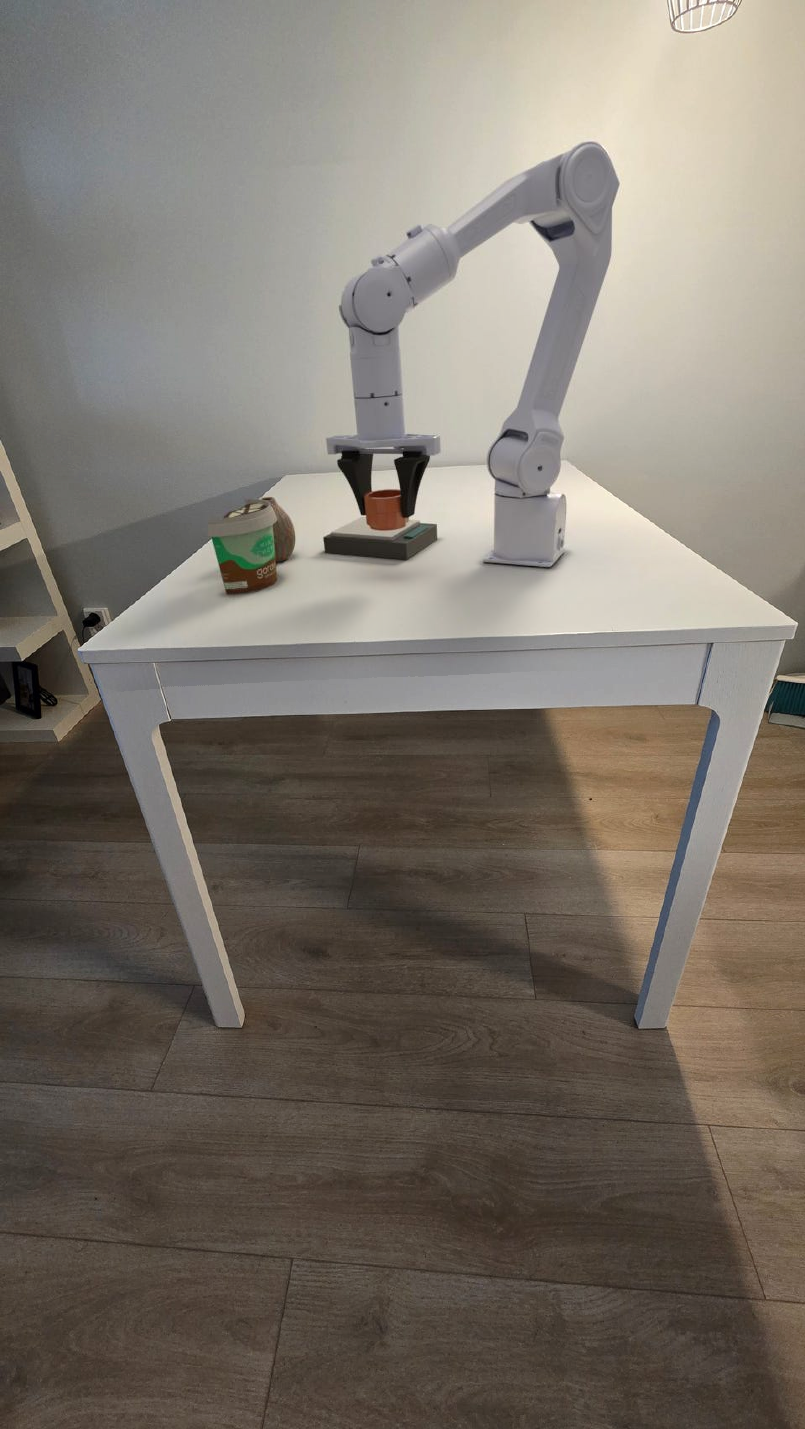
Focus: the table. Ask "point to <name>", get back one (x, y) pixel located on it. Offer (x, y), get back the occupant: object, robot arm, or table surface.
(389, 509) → the terracotta cup
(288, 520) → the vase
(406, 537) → the scale
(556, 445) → the robot arm
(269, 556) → the food container
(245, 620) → the table surface
